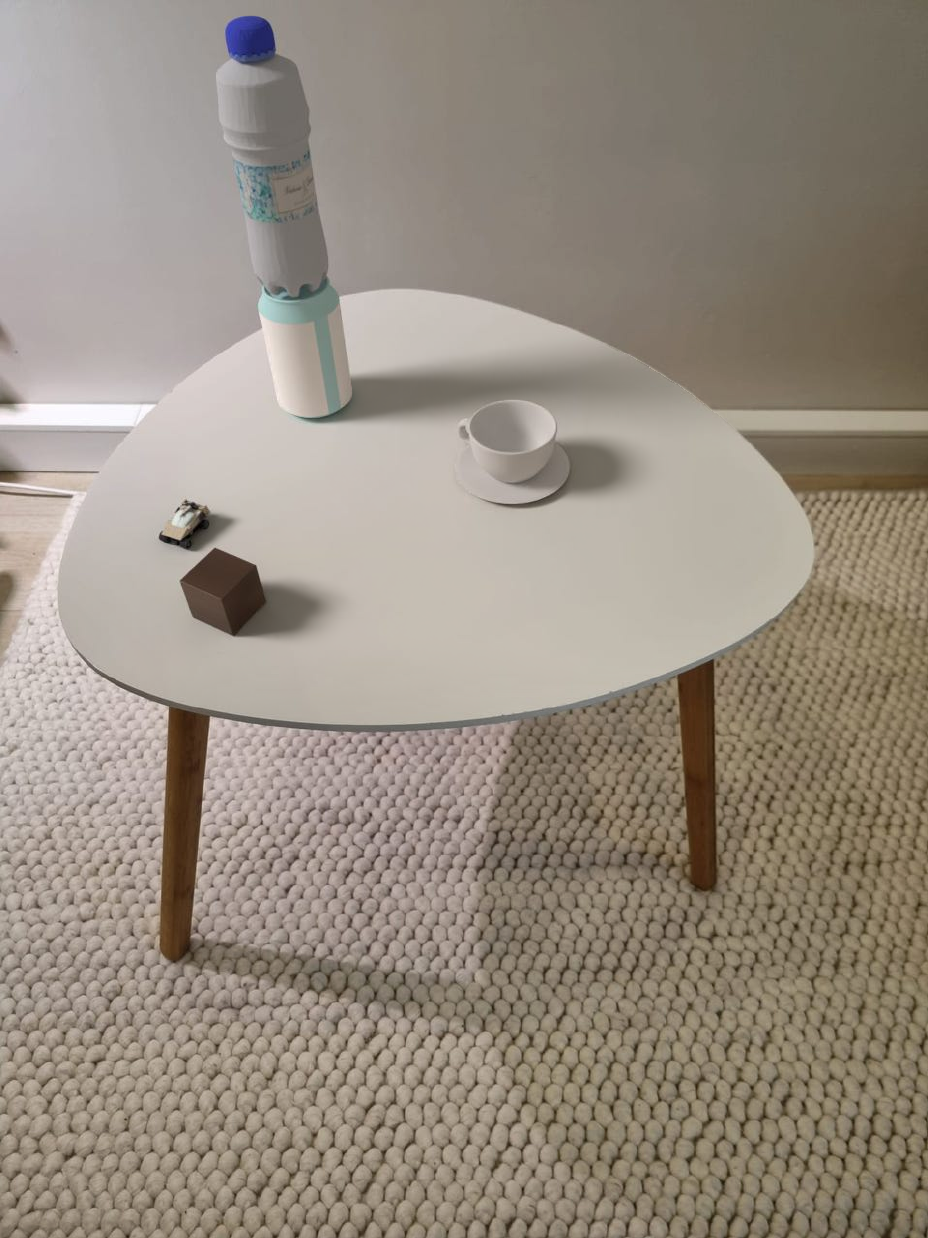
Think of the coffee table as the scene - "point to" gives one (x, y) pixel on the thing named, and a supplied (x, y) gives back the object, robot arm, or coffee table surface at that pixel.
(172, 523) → the toy car
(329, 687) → the coffee table surface
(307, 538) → the coffee table surface
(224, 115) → the bottle
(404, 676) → the coffee table surface
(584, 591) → the coffee table surface
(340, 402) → the can
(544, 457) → the teacup
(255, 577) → the walnut block
